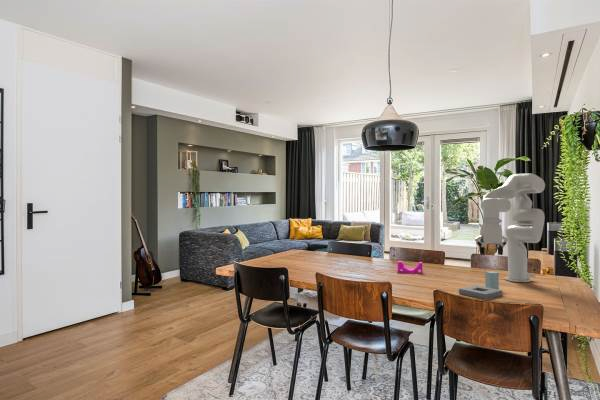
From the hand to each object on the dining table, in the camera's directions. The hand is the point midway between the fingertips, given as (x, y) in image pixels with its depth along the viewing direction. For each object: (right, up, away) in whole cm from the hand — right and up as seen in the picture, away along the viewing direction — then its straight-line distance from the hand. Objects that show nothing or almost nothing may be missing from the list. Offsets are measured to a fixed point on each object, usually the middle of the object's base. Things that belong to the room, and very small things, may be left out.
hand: (491, 254), depth 193 cm
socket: (-11, -18, -11) cm, 24 cm away
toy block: (-29, -19, +43) cm, 56 cm away
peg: (+1, -18, 0) cm, 18 cm away
